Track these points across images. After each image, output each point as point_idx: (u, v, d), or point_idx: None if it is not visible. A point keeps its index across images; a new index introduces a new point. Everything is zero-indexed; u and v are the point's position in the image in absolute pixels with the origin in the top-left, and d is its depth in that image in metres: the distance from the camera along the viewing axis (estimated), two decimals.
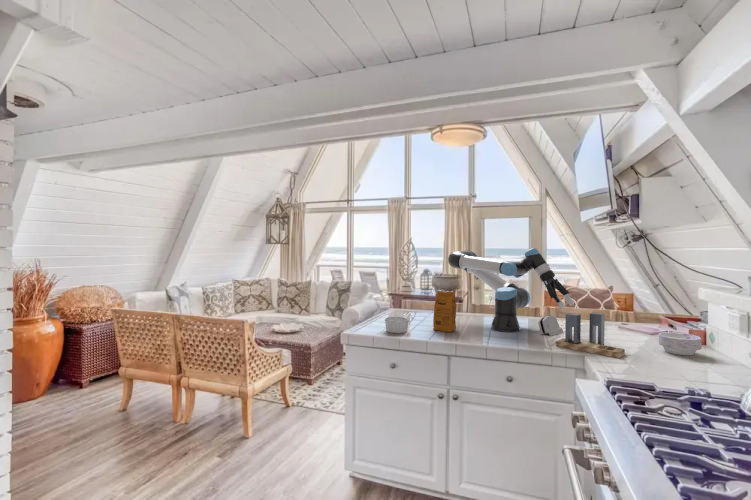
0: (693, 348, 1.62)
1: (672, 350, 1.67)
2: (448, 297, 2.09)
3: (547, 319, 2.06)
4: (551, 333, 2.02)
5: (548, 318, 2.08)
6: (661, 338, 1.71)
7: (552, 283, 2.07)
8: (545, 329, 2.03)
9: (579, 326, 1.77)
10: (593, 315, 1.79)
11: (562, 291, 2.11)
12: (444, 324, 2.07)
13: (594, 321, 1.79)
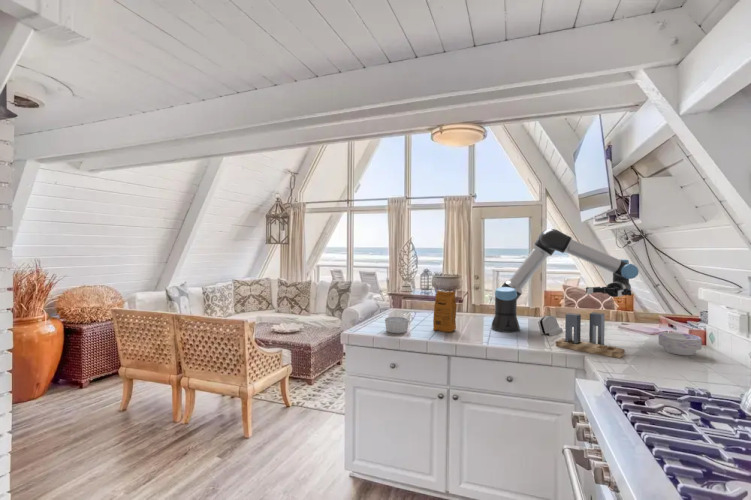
0: (693, 348, 1.62)
1: (672, 350, 1.67)
2: (448, 297, 2.09)
3: (546, 319, 2.06)
4: (551, 333, 2.02)
5: (548, 318, 2.08)
6: (661, 338, 1.71)
7: (617, 292, 1.94)
8: (545, 329, 2.03)
9: (579, 326, 1.77)
10: (593, 315, 1.79)
11: (596, 290, 1.97)
12: (444, 324, 2.07)
13: (594, 321, 1.79)
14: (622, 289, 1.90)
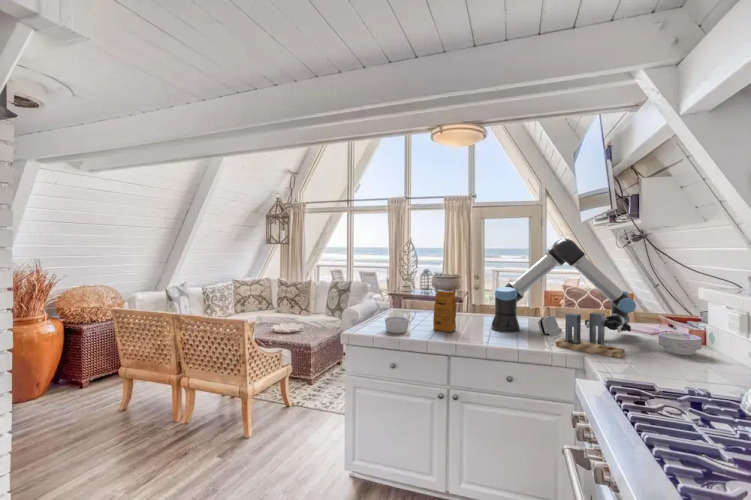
0: (693, 348, 1.62)
1: (672, 350, 1.67)
2: (448, 297, 2.09)
3: (546, 320, 2.06)
4: (551, 333, 2.02)
5: (548, 318, 2.07)
6: (661, 338, 1.71)
7: None
8: (545, 329, 2.02)
9: (579, 326, 1.77)
10: (593, 315, 1.79)
11: None
12: (444, 324, 2.07)
13: (594, 321, 1.79)
14: (621, 324, 1.87)
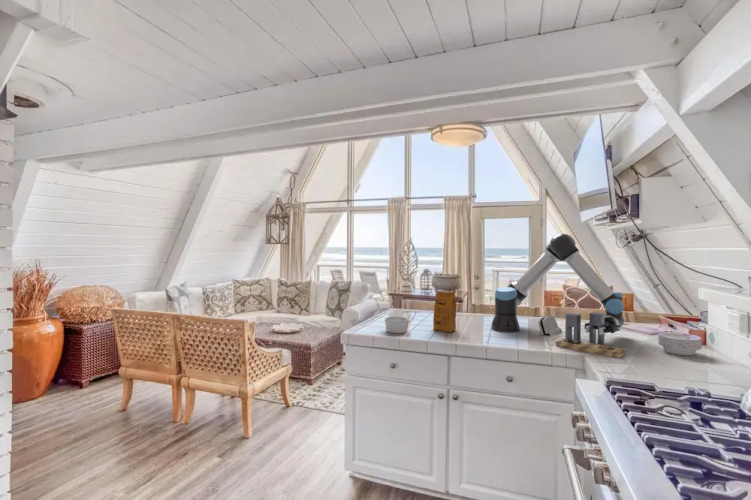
0: (693, 348, 1.62)
1: (672, 350, 1.67)
2: (448, 297, 2.09)
3: (546, 320, 2.05)
4: (551, 333, 2.01)
5: (548, 319, 2.07)
6: (661, 338, 1.71)
7: None
8: (545, 329, 2.02)
9: (579, 326, 1.77)
10: (593, 315, 1.79)
11: None
12: (444, 324, 2.07)
13: (594, 321, 1.79)
14: None
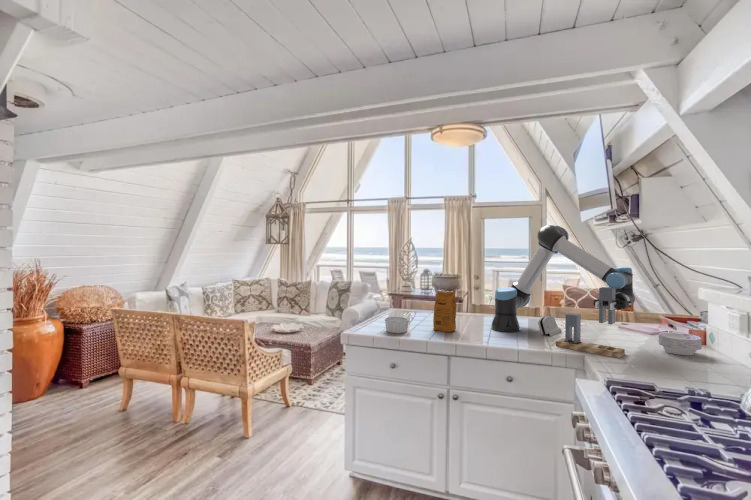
0: (693, 348, 1.62)
1: (672, 350, 1.67)
2: (448, 297, 2.09)
3: (546, 320, 2.05)
4: (551, 333, 2.01)
5: (548, 319, 2.07)
6: (661, 338, 1.71)
7: None
8: (545, 330, 2.01)
9: (579, 326, 1.77)
10: (603, 289, 1.66)
11: None
12: (444, 324, 2.07)
13: (604, 296, 1.66)
14: None
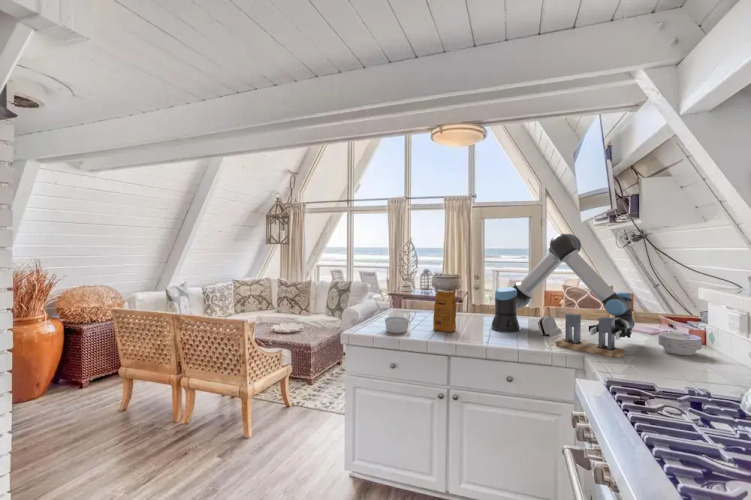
0: (693, 348, 1.62)
1: (672, 350, 1.67)
2: (448, 297, 2.09)
3: (546, 320, 2.04)
4: (551, 334, 2.00)
5: (547, 319, 2.06)
6: (661, 338, 1.71)
7: None
8: (545, 330, 2.01)
9: (579, 326, 1.77)
10: (602, 320, 1.67)
11: None
12: (444, 324, 2.07)
13: (603, 327, 1.66)
14: (622, 329, 1.68)
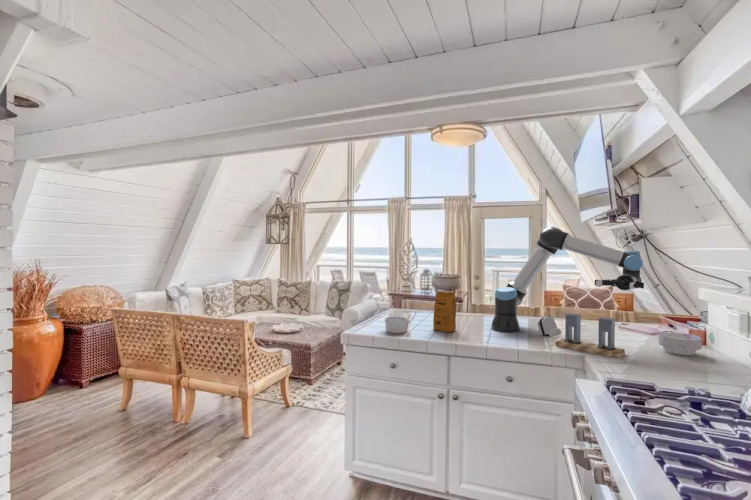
0: (693, 348, 1.62)
1: (672, 350, 1.67)
2: (448, 297, 2.09)
3: (546, 320, 2.04)
4: (551, 334, 2.00)
5: (547, 319, 2.06)
6: (661, 338, 1.71)
7: None
8: (545, 330, 2.00)
9: (579, 326, 1.77)
10: (602, 320, 1.67)
11: (605, 283, 1.84)
12: (444, 324, 2.07)
13: (603, 327, 1.66)
14: None
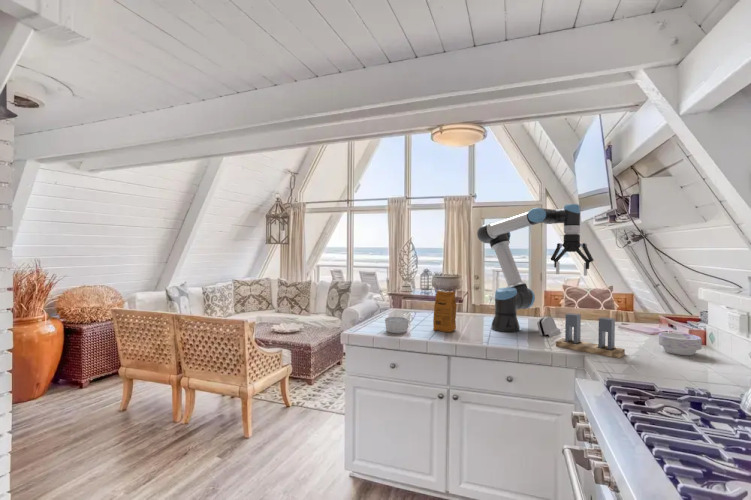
0: (693, 348, 1.62)
1: (672, 350, 1.67)
2: (448, 297, 2.09)
3: (545, 320, 2.03)
4: (551, 334, 1.99)
5: (547, 319, 2.05)
6: (661, 338, 1.71)
7: None
8: (545, 330, 2.00)
9: (579, 326, 1.77)
10: (602, 320, 1.67)
11: None
12: (444, 324, 2.07)
13: (603, 327, 1.66)
14: None
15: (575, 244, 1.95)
